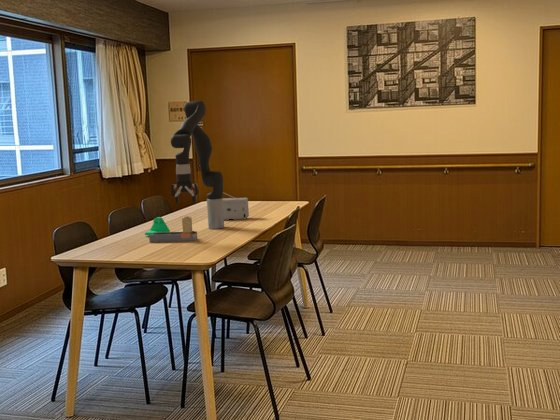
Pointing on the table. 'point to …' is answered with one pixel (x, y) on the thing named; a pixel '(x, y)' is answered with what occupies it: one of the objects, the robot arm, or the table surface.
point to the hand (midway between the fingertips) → (185, 203)
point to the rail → (173, 237)
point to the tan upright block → (187, 225)
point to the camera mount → (158, 226)
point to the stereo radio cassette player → (235, 208)
